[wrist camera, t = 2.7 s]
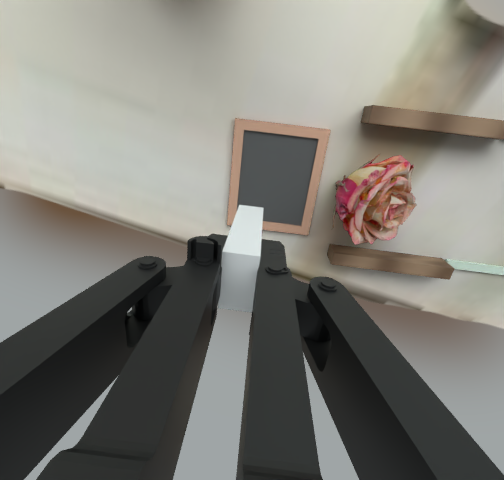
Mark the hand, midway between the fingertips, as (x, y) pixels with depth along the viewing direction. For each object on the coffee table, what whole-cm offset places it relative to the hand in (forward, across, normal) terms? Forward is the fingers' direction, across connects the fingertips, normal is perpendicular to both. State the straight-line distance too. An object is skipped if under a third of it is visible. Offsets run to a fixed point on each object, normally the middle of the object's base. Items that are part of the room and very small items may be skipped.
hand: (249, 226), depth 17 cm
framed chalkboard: (+15, +2, 0) cm, 15 cm away
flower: (+16, +12, 0) cm, 20 cm away
